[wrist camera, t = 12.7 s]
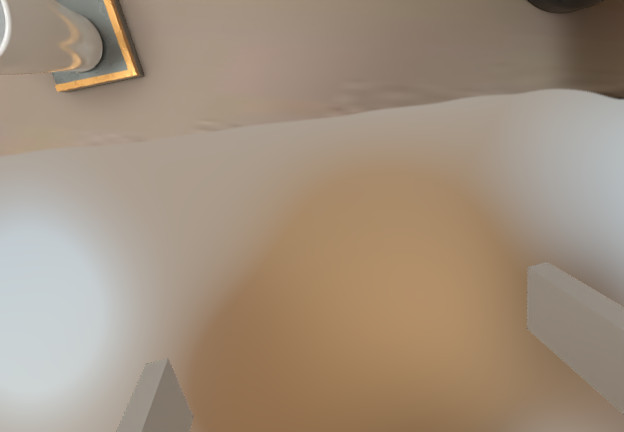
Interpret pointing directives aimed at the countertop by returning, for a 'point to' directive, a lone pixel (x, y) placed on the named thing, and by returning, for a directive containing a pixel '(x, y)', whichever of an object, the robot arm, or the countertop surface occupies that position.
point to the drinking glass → (45, 38)
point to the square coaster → (116, 47)
